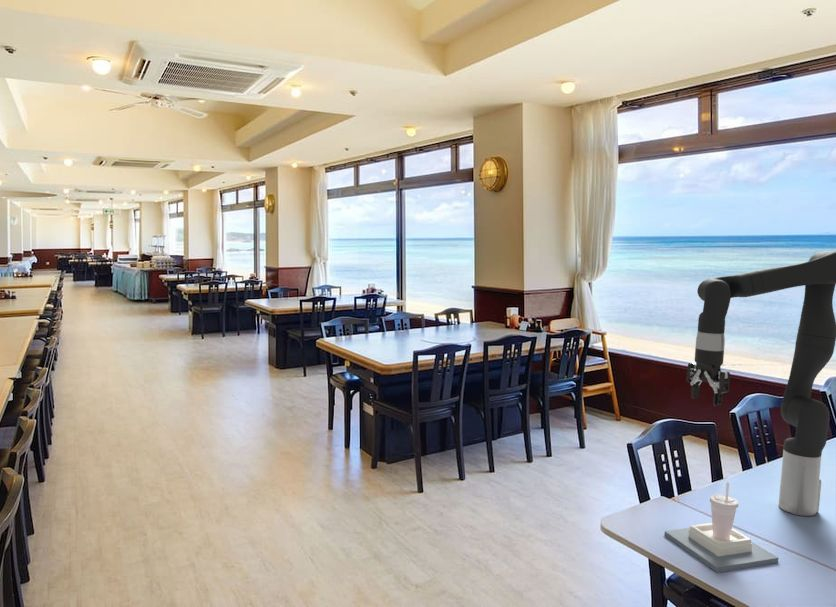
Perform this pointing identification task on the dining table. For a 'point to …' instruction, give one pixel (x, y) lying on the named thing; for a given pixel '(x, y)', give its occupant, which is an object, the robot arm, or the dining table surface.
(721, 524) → the smoothie
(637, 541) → the dining table surface
